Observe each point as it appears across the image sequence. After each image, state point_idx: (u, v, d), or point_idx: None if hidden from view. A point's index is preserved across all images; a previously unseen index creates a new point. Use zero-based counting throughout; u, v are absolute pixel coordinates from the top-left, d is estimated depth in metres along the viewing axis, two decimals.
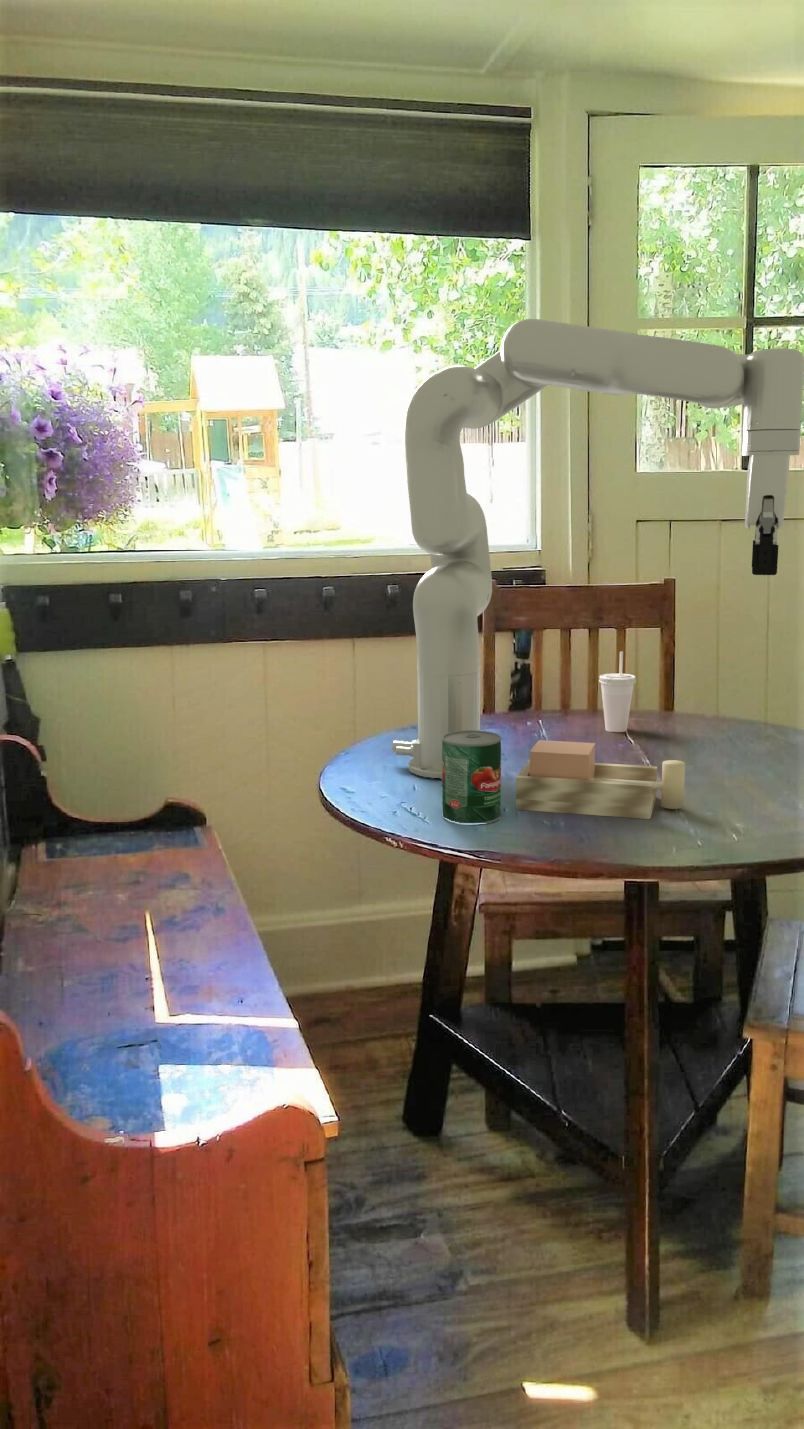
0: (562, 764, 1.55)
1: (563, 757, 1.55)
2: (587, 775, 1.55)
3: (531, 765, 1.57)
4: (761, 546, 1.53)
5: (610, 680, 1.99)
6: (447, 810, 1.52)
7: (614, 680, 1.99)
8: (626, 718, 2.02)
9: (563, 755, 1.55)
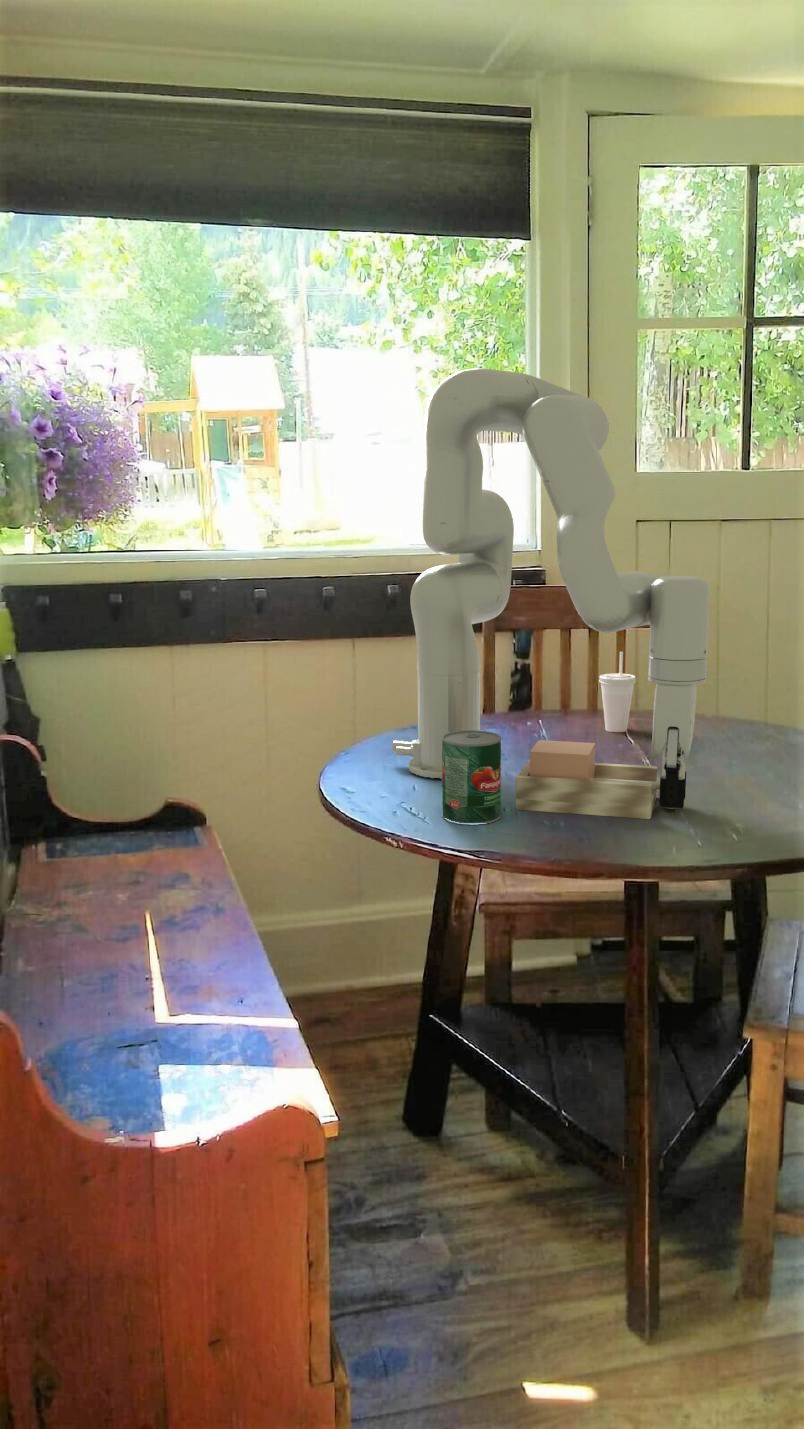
0: (562, 764, 1.55)
1: (563, 757, 1.55)
2: (587, 775, 1.55)
3: (531, 765, 1.57)
4: (667, 781, 1.53)
5: (610, 680, 1.99)
6: (447, 810, 1.52)
7: (614, 680, 1.99)
8: (626, 718, 2.02)
9: (563, 755, 1.55)
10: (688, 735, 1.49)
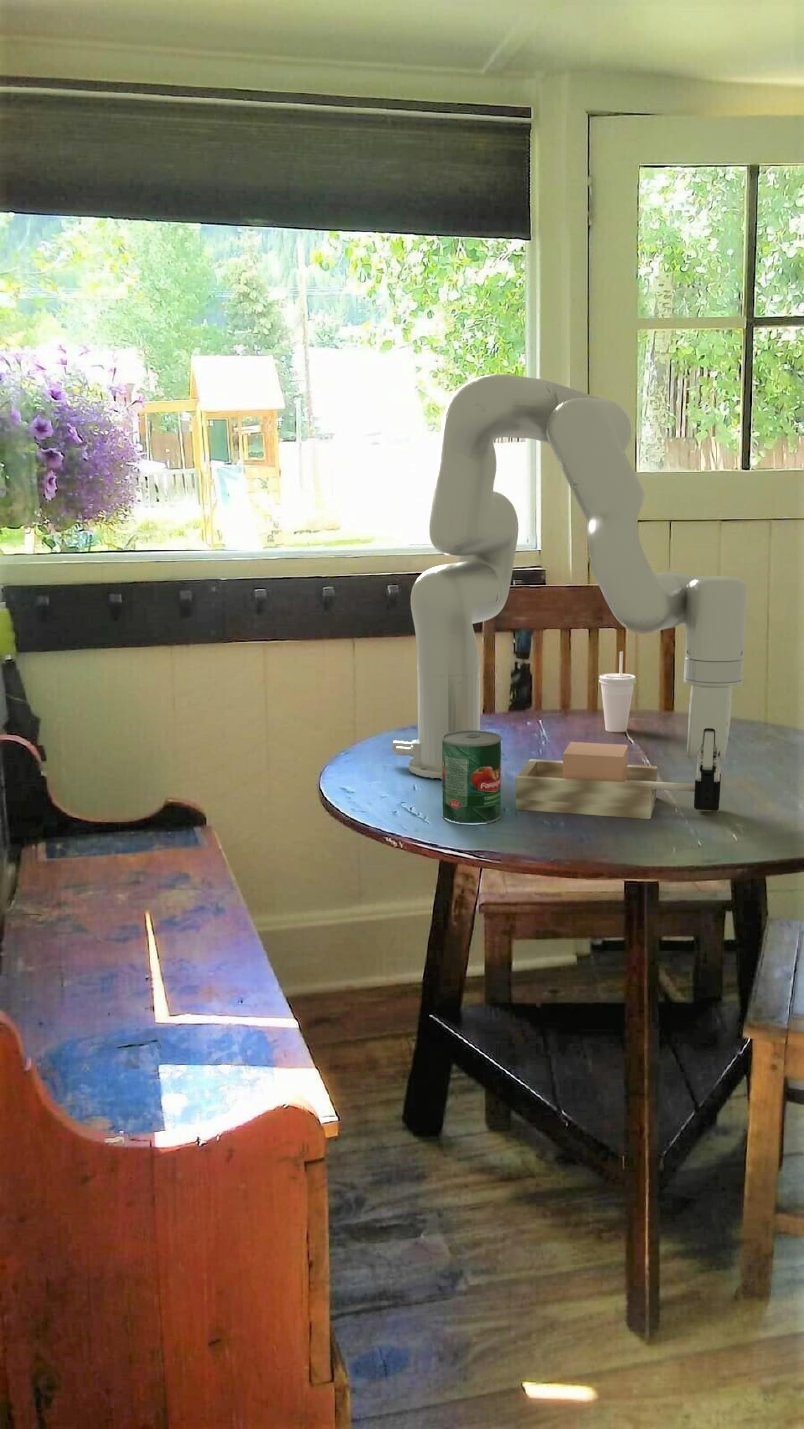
0: (595, 766, 1.54)
1: (597, 759, 1.54)
2: (621, 777, 1.54)
3: (564, 767, 1.55)
4: (702, 783, 1.51)
5: (610, 680, 1.99)
6: (447, 810, 1.52)
7: (614, 680, 1.99)
8: (626, 718, 2.02)
9: (597, 757, 1.54)
10: (724, 737, 1.47)
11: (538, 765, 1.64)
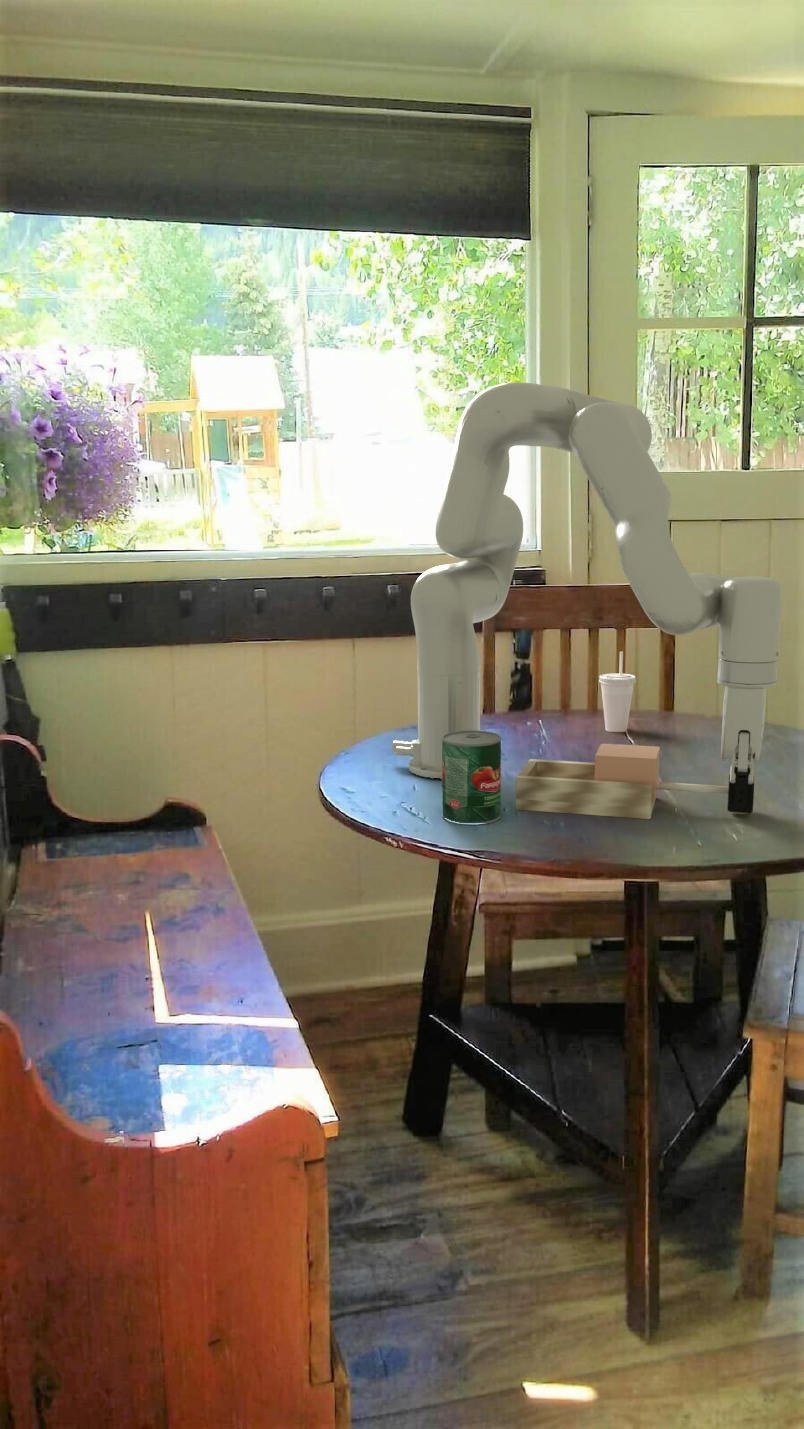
0: (628, 768, 1.53)
1: (630, 760, 1.53)
2: (654, 779, 1.52)
3: (596, 769, 1.54)
4: (736, 785, 1.50)
5: (610, 680, 1.99)
6: (447, 810, 1.52)
7: (614, 680, 1.99)
8: (626, 718, 2.02)
9: (630, 759, 1.53)
10: (760, 739, 1.46)
11: (538, 765, 1.64)
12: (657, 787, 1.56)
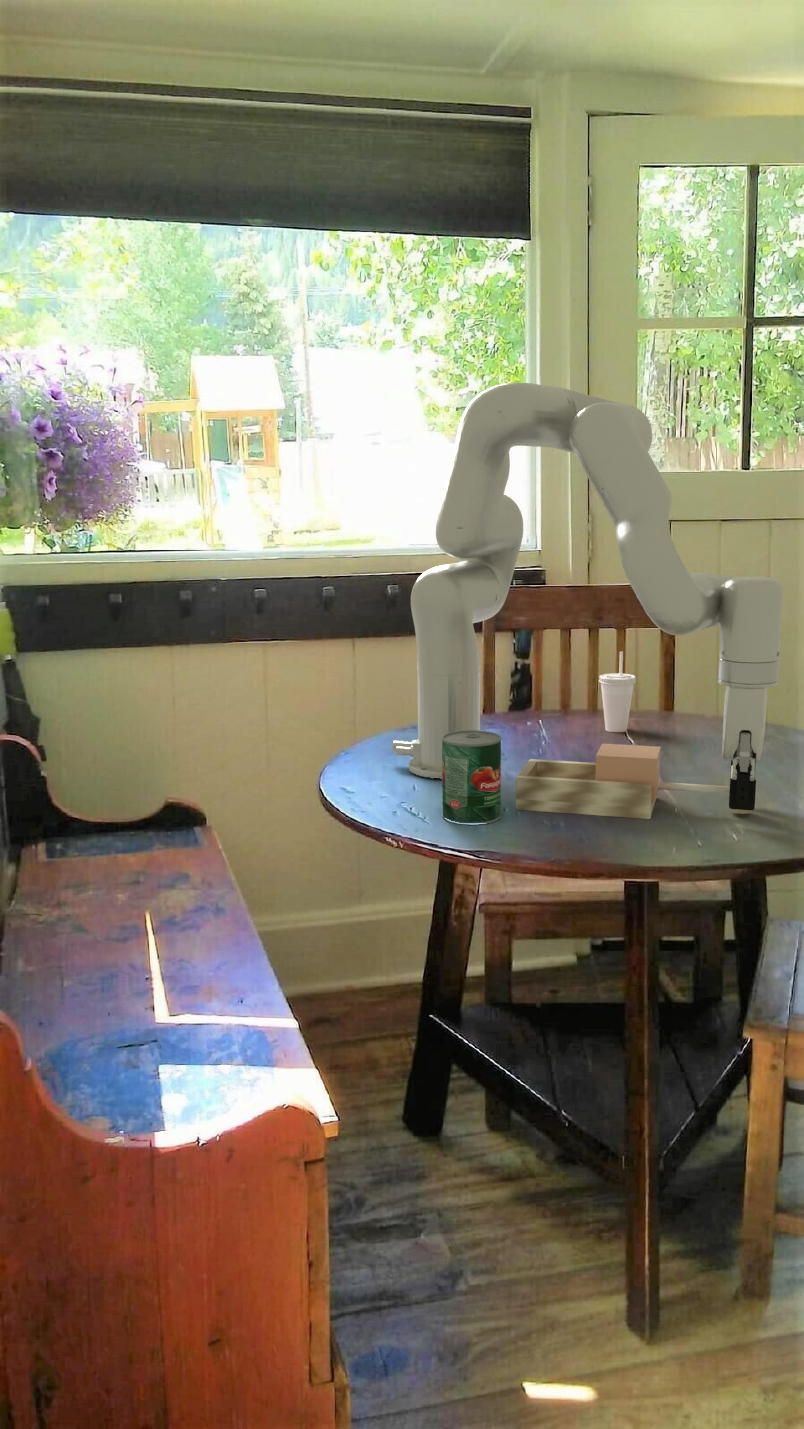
0: (629, 768, 1.53)
1: (631, 761, 1.53)
2: (655, 779, 1.52)
3: (597, 769, 1.54)
4: (738, 782, 1.47)
5: (610, 680, 1.99)
6: (447, 810, 1.52)
7: (614, 680, 1.99)
8: (626, 718, 2.02)
9: (630, 759, 1.53)
10: (761, 739, 1.46)
11: (538, 765, 1.64)
12: (658, 787, 1.56)
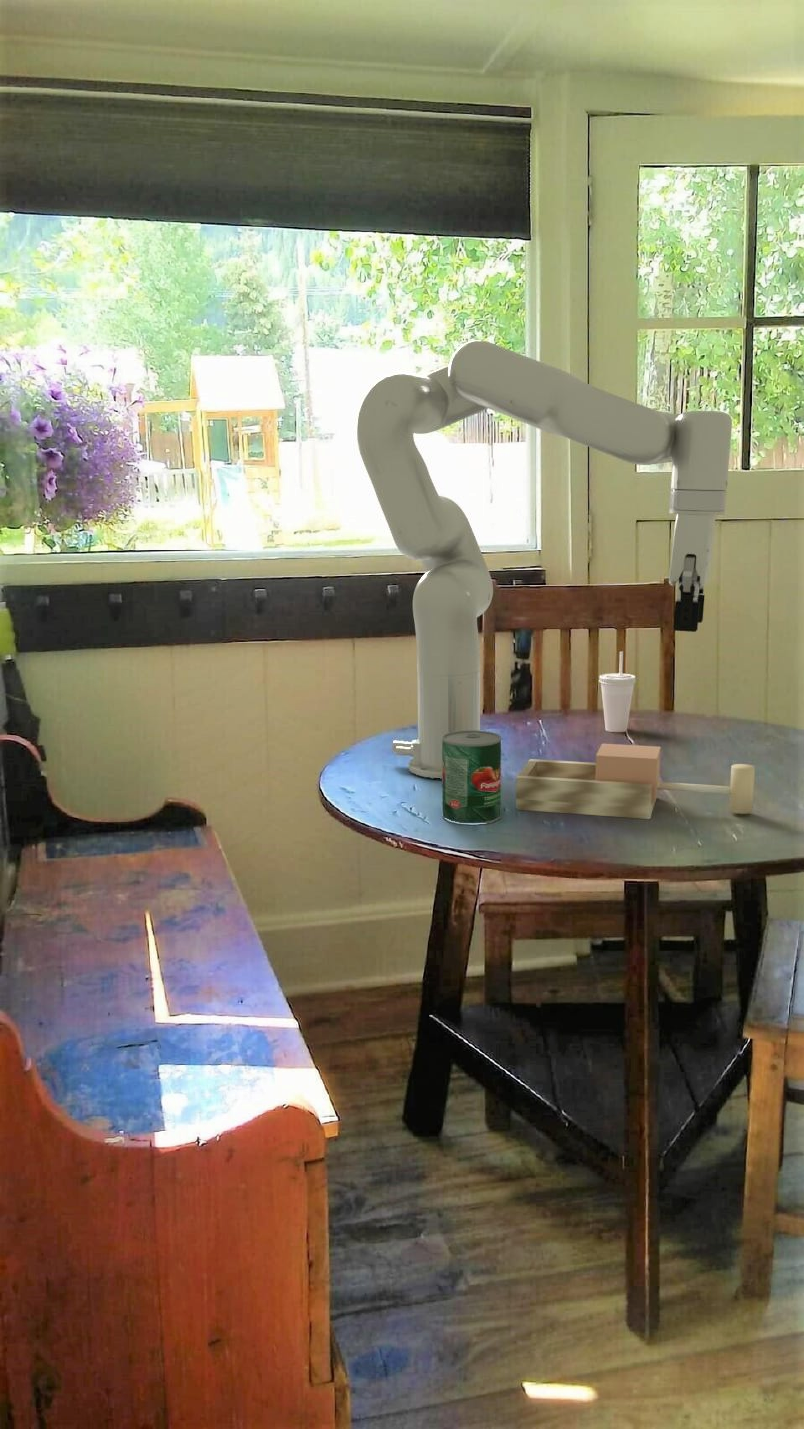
0: (629, 768, 1.53)
1: (631, 761, 1.53)
2: (655, 779, 1.52)
3: (597, 769, 1.54)
4: (682, 603, 1.56)
5: (610, 680, 1.99)
6: (447, 810, 1.52)
7: (614, 680, 1.99)
8: (626, 718, 2.02)
9: (630, 759, 1.53)
10: (705, 563, 1.55)
11: (538, 765, 1.64)
12: (658, 787, 1.56)
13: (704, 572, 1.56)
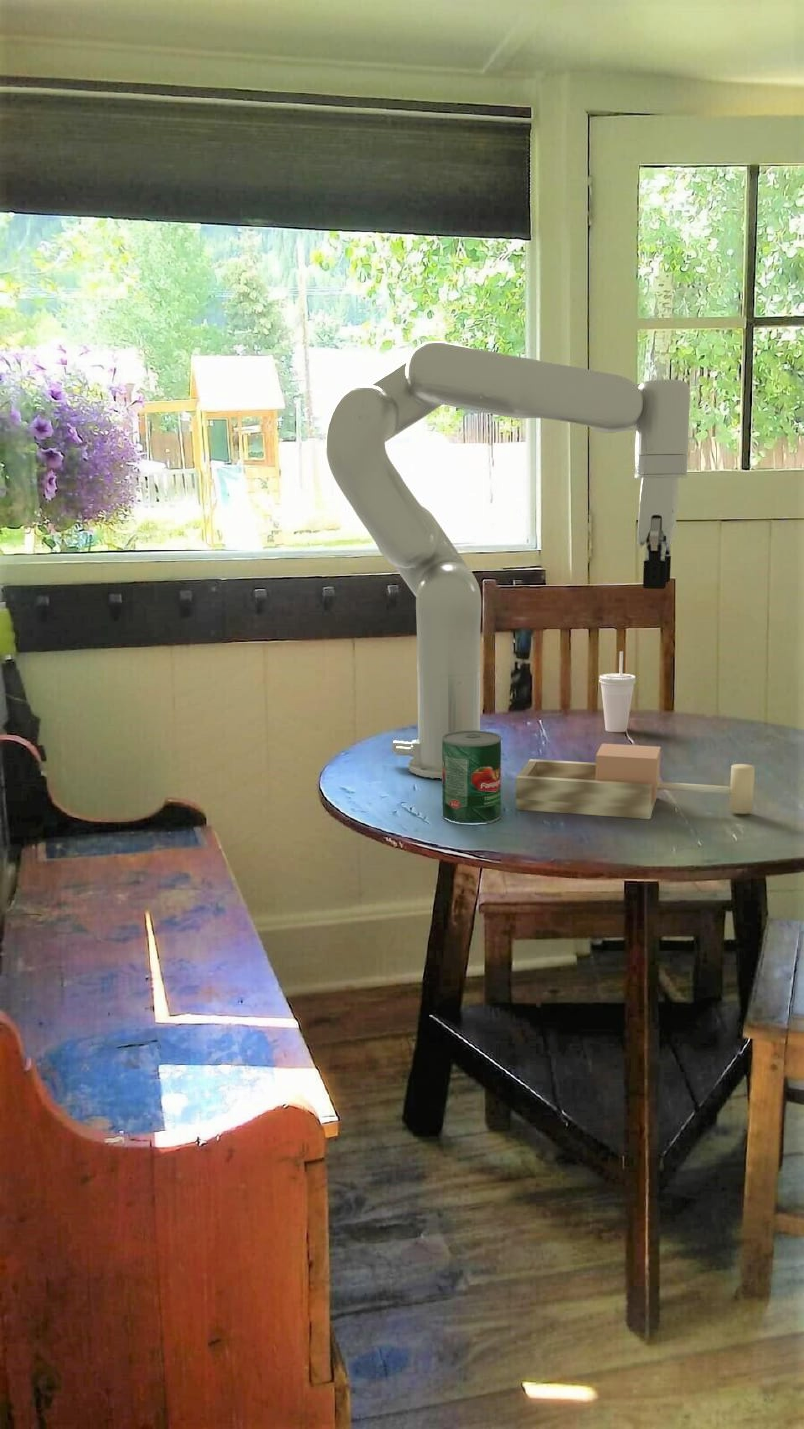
0: (629, 768, 1.53)
1: (631, 761, 1.53)
2: (655, 779, 1.52)
3: (597, 769, 1.54)
4: (650, 562, 1.65)
5: (610, 680, 1.99)
6: (447, 810, 1.52)
7: (614, 680, 1.99)
8: (626, 718, 2.02)
9: (630, 759, 1.53)
10: (670, 523, 1.64)
11: (538, 765, 1.64)
12: (658, 787, 1.56)
13: (670, 532, 1.65)
